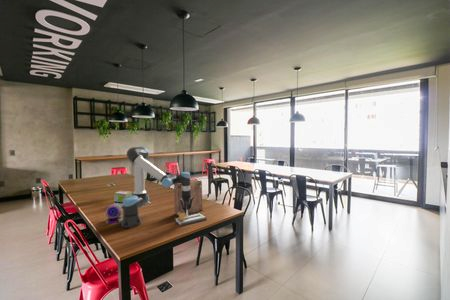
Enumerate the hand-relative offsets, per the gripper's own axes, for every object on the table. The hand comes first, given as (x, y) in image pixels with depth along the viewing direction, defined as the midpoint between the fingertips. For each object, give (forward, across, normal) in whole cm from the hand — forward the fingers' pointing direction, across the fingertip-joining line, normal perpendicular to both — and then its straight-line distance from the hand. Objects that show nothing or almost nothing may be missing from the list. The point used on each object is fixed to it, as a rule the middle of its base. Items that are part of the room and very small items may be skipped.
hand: (186, 216), depth 186 cm
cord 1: (+3, +4, +8) cm, 10 cm away
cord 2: (+3, +4, -8) cm, 9 cm away
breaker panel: (+3, +4, 0) cm, 5 cm away
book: (+4, +10, +19) cm, 22 cm away
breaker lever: (+1, -4, 0) cm, 5 cm away
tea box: (+4, -40, +82) cm, 91 cm away
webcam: (+4, -52, +38) cm, 65 cm away
